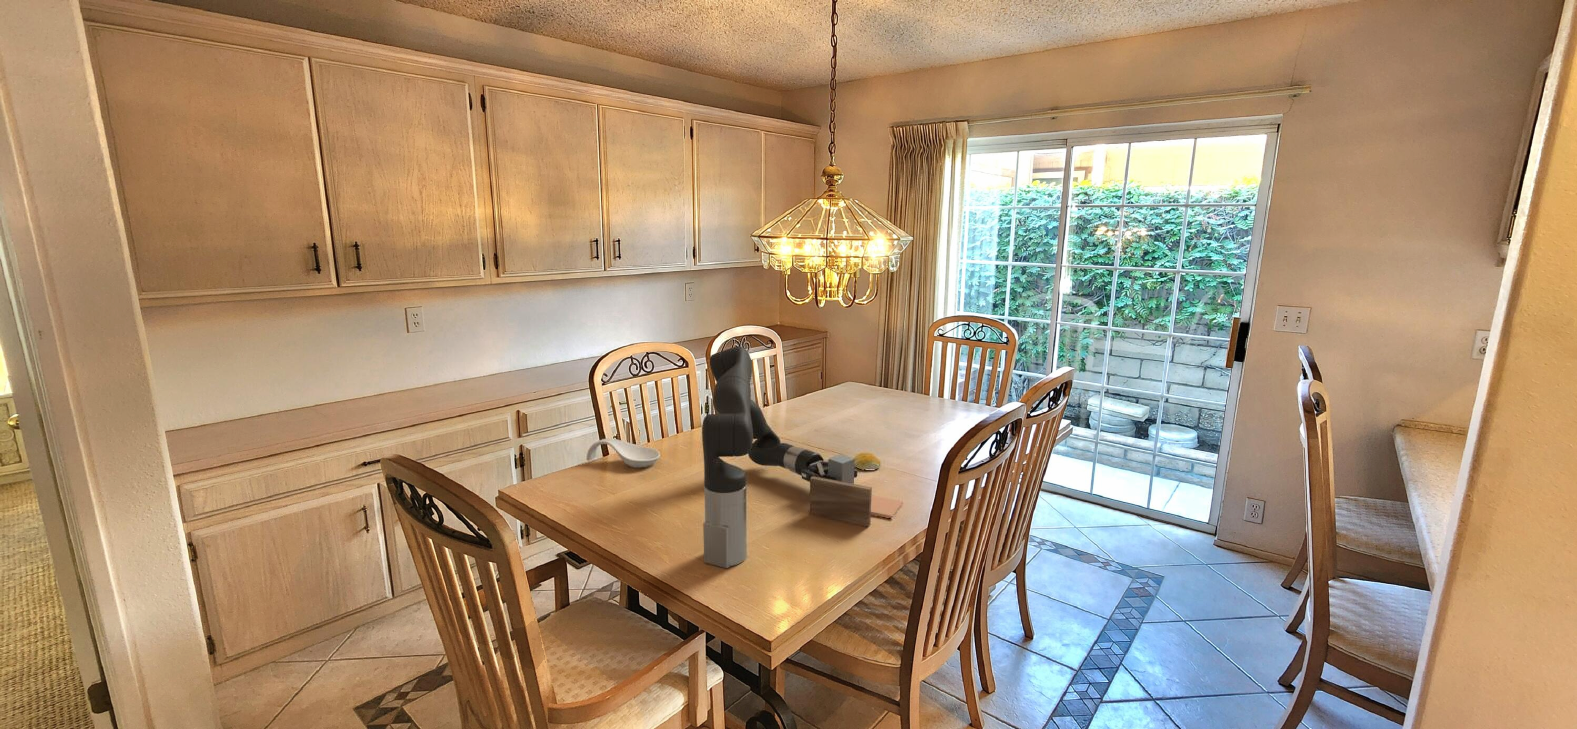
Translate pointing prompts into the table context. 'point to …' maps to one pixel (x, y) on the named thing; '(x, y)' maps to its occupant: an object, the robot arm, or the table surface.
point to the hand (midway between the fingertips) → (846, 478)
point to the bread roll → (866, 461)
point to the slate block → (841, 468)
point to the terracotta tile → (884, 506)
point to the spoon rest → (628, 452)
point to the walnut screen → (840, 501)
